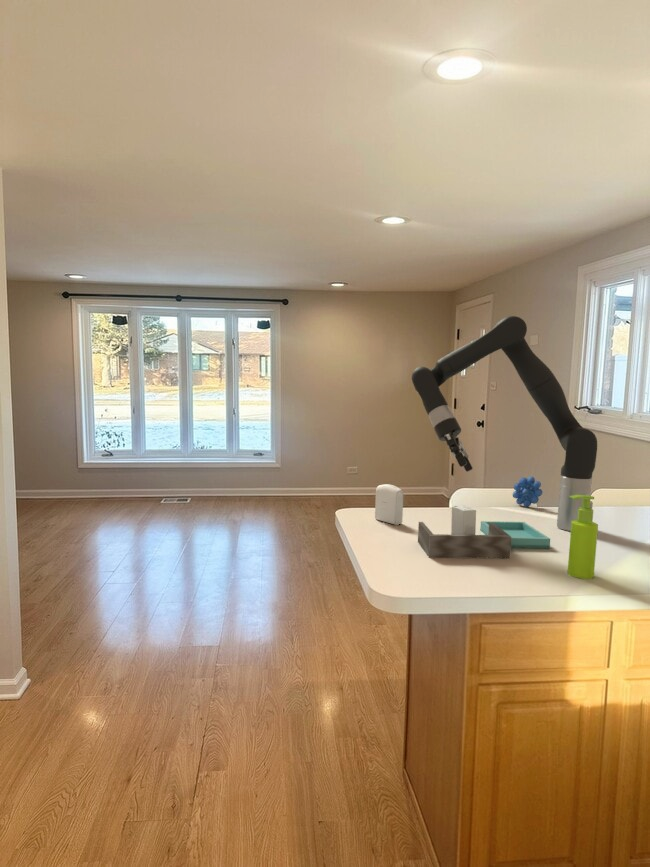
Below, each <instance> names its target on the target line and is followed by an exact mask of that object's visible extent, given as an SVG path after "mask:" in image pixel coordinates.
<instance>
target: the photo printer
mask: <svg viewBox="0 0 650 867" xmlns="http://www.w3.org/2000/svg"><path fill="white" fill-rule="evenodd" d="M374 499H375V501H374V502H375V503H374V505H375V506H374V509H375V510H374V519H376V520H377V521H381V522H384V523H389V524H390V525H395V526H398V525H399V524H400V525H401V524H403V516H404V514H403V513H404V512H403V510H404V492H403V490H402V489H401V488H399V487H398V486H396V485H393V484H389V483H388V484H387V483H386V484H380V485H378V486H376V489H375V498H374Z"/></svg>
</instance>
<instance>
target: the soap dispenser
mask: <svg viewBox="0 0 650 867" xmlns="http://www.w3.org/2000/svg"><path fill="white" fill-rule="evenodd" d="M569 497H570V498H572V499H574V500H576V499H583V502H582V507H580V508H578V517H577V520H573V521H572V522H571V531H570V538H569V548H568V563H567V564H568V565H567V574H569V575H570V576H572V577H574V578H577V579H583V580H584V579H585V580H590V579H593V578H594V576H595V566H596V565H595V564H596V556H597V555H596V554H597V543H598V542H597V541H598V528H599V524H598V523H597V522H594V520H593V519H594V509H593V508H592V509H591V508H590V501H591V500H595V496H592V495H573V496H569Z"/></svg>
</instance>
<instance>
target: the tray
mask: <svg viewBox="0 0 650 867" xmlns="http://www.w3.org/2000/svg"><path fill="white" fill-rule="evenodd" d="M489 523H494V524H495V525H496V526H498V527H499V528H500V529H502V530H503V531H504V532H506V533H507V534H508V535H510V536H511V549H517V550H518V549H519V550H520V549H522V550H523V549H524V550H525V549H526V550H527V549H529V550H530V549H531V550H537V549H538V550H540V549H541V550H550V549H551V548H550V547H551V538H550V537H548V536H546V535H545V534H544V533H543V532H540V531H539V530H537V529H536V528H534V527H533V526H531V525H529V524H528V523H526V522H525V521H499V520H498V521H494V520H493V521H491V520H489V521H488V520H485V521H484V520H481V521H480V530H479V531H480V532H482V533H483V535H488V533H489Z"/></svg>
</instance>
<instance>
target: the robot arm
mask: <svg viewBox="0 0 650 867" xmlns="http://www.w3.org/2000/svg"><path fill="white" fill-rule="evenodd" d="M527 328H528V327H527V323H526V322H525V320H524V319H522V318H521V317H520V316H516V315H510V316H509V315H508V316H506V317H503V318H502V319H500V320H499V321H498V322H496V324H495V325H494V327H493V328H492V329H491V330H489V331H487V332H486V333H484V334H483V335H482V336H480V337H478V338H476V339H474V340H473V341H471V342H468V343H466V344H465V345H463V346H461V347H458V348H457V349H455V350H453V351H451V352H449V353H448V354H446V355H444V356H443V357H441V358H439V359H438V360H437V361H436V363H435V366H434V367H432V368H431V369H430V368H428V367H426V366H418V367H416V368H415V369H414V370H413V371H412V374H411V382H412V385H413V387H414V389H415V392H418V395H419V397H420V398H421V400H422V405H423V407H424V409H425V412H426V414H427V416H428V417H429V421H430V423H431V426H432V428H433V430H434V433H435V434H436V436H437V438H438V440H439V441H440V442H445V441H446V445H447V446H448V449H449V451H450V452H451V453H452V455H453V456H454V457H455V459H456V462H457V464H458V465H459V466H460V467H461V468H462V467H463V468H464V470H465V472H467V473H468V472H471V471H472V470H473V466H472V464H471V462H470V460H469V455H468V454H467V450H466V449H465V447H464V445H463V441H462V440H461V438H460V437H457V436H459V435H460V434H461V432H462V428H461V426H460V424H459V422H458V420H457V418H456V416H455V414H454V412H453V410H452V409H451V408H450V406H449V404H448V402H447V401H446V398H445V397H444V395H443V392H441V390H440V387H441V386H442V385H443V384H444V383H446V381H447V380H449V379H450V378H452V377H453V376H456V375H458V374H459V373H461V372H463V371H464V370H466V369H468V368H469V367H471V366H473V365H474V364H476V363H477V362H479V361H480V360H482V359H484V358H485V357H487V356H488V355H491V354H493V353H495V352H497V351H499V350H501V351H502V352H503V353H504V354H505V355H506V356H507V358H508V359H509V361H510V362H511V363H512V365H513V367H514V369H515V371H516V373H517V375H518V376H519V378H520V379H521V382H522V383H523V385H524V386H525V389H526V390H527V392H528V394H529V395H530V396H531V398H532V400H533V401H534V402H535V403H536V405H537V407H538V408H539V409H540V411H541V412H542V414H543V415H544V416H545V418H546V419H547V420H548V422H549V423H550V425H551V427H552V429H553V430H554V432H555V435H556V437H557V439H558V441H559V443H560V444H561V445H560V446H561V448H562V449H563V450H564V451H565V455H564V456H565V457H564V462H563V463H564V464H563V465H562V466H561V469H560V480H559V494H558V505H557V507H558V508H557V519H556V527H557V528H558V529H561V530H564V531H568V532H571V522H572V521H573V520H577V517H578V508H580V507H582V502H583V499H576V500H574V499H572V498H570V497H569V496H573V495H590V496H592V494H591V493H592V481H593V473H594V471H595V469H596V468H595V467H596V462H597V453H598V439H597V436H596V434H595V432H593V431H592V430H590V429H587V428H586V427H585V428H584V427H583V426H582V425H581V423H579V421H578V420H577V419H576V418H575V416H574V415H573V414H574V413H572V411H571V409H570V407H569V404H568V401H567V398H566V395H565V392H564V389H563V387H562V385H561V384H560V382H559V381H558V379H557V378H556V376H555V374H554V373H553V372H552V370H551V369H550V368H549V366H548V365H547V364H545V362H544V361H543V360H541V359H540V358H539V357H538V356H537V355H536V354H535V353H534V352H533V350H532V348H531V347H530V346H529V344H528V342H527V340H526V338H525V336H526V335H527V332H528V329H527ZM593 505H594V504H593V501H592V500H590V508H591V509H593Z"/></svg>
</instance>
